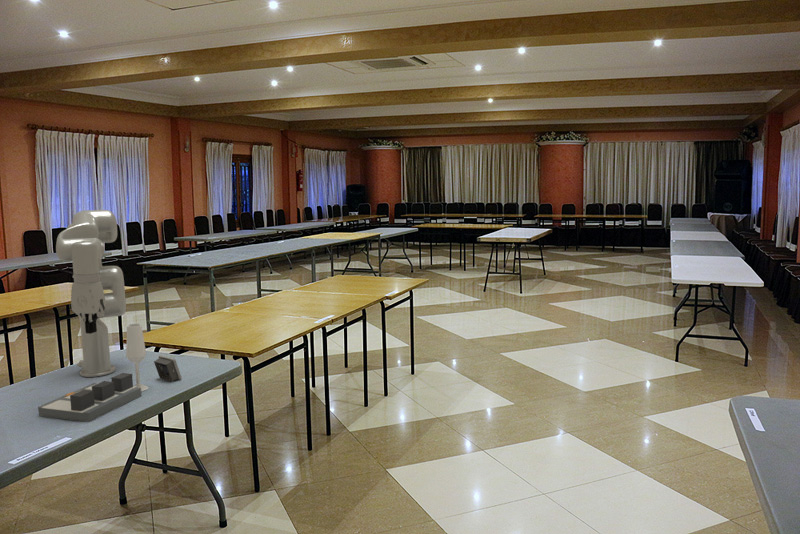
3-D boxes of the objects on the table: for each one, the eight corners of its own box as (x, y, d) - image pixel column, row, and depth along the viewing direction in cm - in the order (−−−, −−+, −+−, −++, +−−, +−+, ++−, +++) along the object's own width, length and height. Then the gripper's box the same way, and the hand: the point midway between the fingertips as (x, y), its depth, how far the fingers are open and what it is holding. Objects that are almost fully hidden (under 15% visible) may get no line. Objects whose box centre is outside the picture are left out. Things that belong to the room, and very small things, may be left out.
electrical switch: (182, 379, 229) (178, 356, 227) (170, 384, 225) (167, 361, 223) (167, 375, 234) (163, 353, 232) (155, 380, 230) (151, 357, 228)
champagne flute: (129, 393, 214) (124, 328, 211) (128, 387, 220) (123, 324, 217) (149, 390, 217) (145, 326, 214) (147, 384, 223) (143, 322, 220)
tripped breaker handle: (92, 399, 199) (91, 386, 198) (105, 393, 204) (104, 380, 203) (102, 400, 198) (101, 387, 197) (114, 394, 203) (113, 381, 202)
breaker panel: (37, 416, 193) (35, 392, 192) (95, 390, 217) (94, 369, 216) (88, 422, 188) (86, 398, 187) (142, 395, 212) (140, 373, 211)
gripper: (59, 279, 194) (64, 333, 197) (97, 281, 190) (101, 337, 193) (77, 275, 201) (81, 328, 204) (114, 277, 198) (118, 331, 200)
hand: (91, 332), depth 199 cm, fingers closed
